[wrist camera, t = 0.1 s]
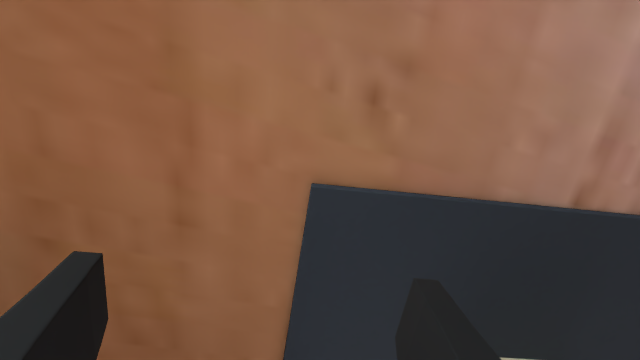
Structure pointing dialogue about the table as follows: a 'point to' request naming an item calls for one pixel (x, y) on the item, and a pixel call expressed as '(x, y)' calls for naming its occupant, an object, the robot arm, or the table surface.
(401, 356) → the robot arm
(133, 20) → the table surface
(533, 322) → the mat
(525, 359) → the tea box
